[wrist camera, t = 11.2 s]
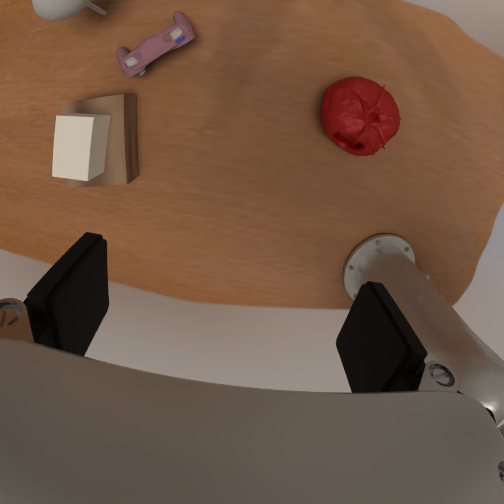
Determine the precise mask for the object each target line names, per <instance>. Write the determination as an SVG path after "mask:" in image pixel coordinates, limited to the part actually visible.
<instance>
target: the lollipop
mask: <svg viewBox="0 0 504 504" xmlns="http://www.w3.org/2000/svg"><path fill="white" fill-rule="evenodd" d="M32 4H33V8H34V10H35V12H36V13H37V14H38V15H39V16H40V17H42V18H44V19H46V20H51V21H58V20H64V19H67V18H70V17H72V16H74V15H76V14H77V13H79V12H80V11H82V9H84V8H85V7H86V6H87V7H89V8H91V9H92V10H94V11H96V12H98V13H100V14H101V15H104V16H105V15H106V14H107V12H106V11H105V10H103V9H101V8H99V7H98V6H96V5H94V4H93V3H91V2H90V0H32Z"/></svg>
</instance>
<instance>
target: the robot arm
mask: <svg viewBox="0 0 504 504" xmlns="http://www.w3.org/2000/svg"><path fill="white" fill-rule="evenodd" d="M343 283H344V287H345V289H346V291H347V293H348V294H349V296H350V297H351V298H352V299H353V300H354V303H353V305H352V307H351V309H350V311H349V314H348V316H347V318H346V320H345V322H344V324H343V326H342V328H341V331H340V333H339V335H338V337H337V340H336V347H337V350H338V352H339V355H340V358H341V361H342V364H343V367H344V370H345V373H346V376H347V379H348V382H349V385H350V388H351V391H352V393H333V392H304V391H286V390H272V389H261V388H250V387H240V386H232V385H224V384H216V383H209V382H202V381H196V380H190V379H183V378H177V377H171V376H166V375H161V374H155V373H151V372H146V371H141V370H137V369H132V368H128V367H123V366H119V365H115V364H111V363H107V362H103V361H99V360H95V359H92V358H88V357H84V355H85V353H86V351H87V349H88V347H89V345H90V343H91V341H92V339H93V337H94V335H95V333H96V331H97V330H98V328H99V326H100V324H101V322H102V320H103V318H104V316H105V314H106V313H107V310H108V306H109V295H108V273H107V241H106V240H105V239H103V237H102V235H100V234H95V233H89V232H86V233H85V234H84V235H83V236H82V237H81V238H80V239H79V240H78V241H77V242H76V243H75V244H74V245H73V246H72V247H71V248H70V249H69V250H68V251H67V252H66V253H65V254H64V255H63V256H62V257H61V258H60V259H59V260H58V261H57V262H56V263H55V264H54V265H53V266H52V267H51V268H50V270H49V271H48V272H47V273H46V274H45V275H44V276H43V277H42V278H41V280H40V281H39V282H38V283H37V284H36V285H35V286H34V287H33V288H32V289H31V291H30V292H29V293H28V294H27V298H26V299H25V300H24V302H22V301H20V300H18V299H14V298H6V299H2V300H0V504H504V424H503V425H501V426H500V427H497V425H498V424H499V423H500V422H501V421H502V420H503V419H504V361H503V360H502V359H501V358H500V357H499V356H498V355H497V354H496V353H495V352H494V351H493V350H492V349H491V348H489V347H488V346H487V345H486V344H485V343H484V342H483V341H482V340H481V339H480V338H479V337H478V336H477V335H476V334H475V333H474V332H473V331H472V330H471V329H470V328H469V326H468V325H467V324H466V323H465V322H464V321H463V320H462V318H461V317H460V316H459V315H458V314H457V312H456V311H455V310H454V309H453V308H452V306H451V305H450V304H449V303H448V302H447V300H446V299H445V298H444V297H443V296H442V295H441V293H440V292H439V291H438V290H437V289H436V288H435V286H434V285H433V284H432V283H431V282H430V281H429V275H428V274H423V273H422V272H421V271H420V270H419V269H418V268H417V266H416V265H415V256H414V252H413V250H412V248H411V246H410V245H409V244H408V243H407V242H406V241H405V240H404V239H403V238H401V237H399V236H397V235H394V234H379V235H375V236H373V237H370V238H368V239H366V240H365V241H363V242H362V243H361V244H359V245H358V246H357V247H356V248H355V249H354V250H353V251H352V253H351V254H350V256H349V257H348V259H347V261H346V264H345V266H344V270H343Z"/></svg>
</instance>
